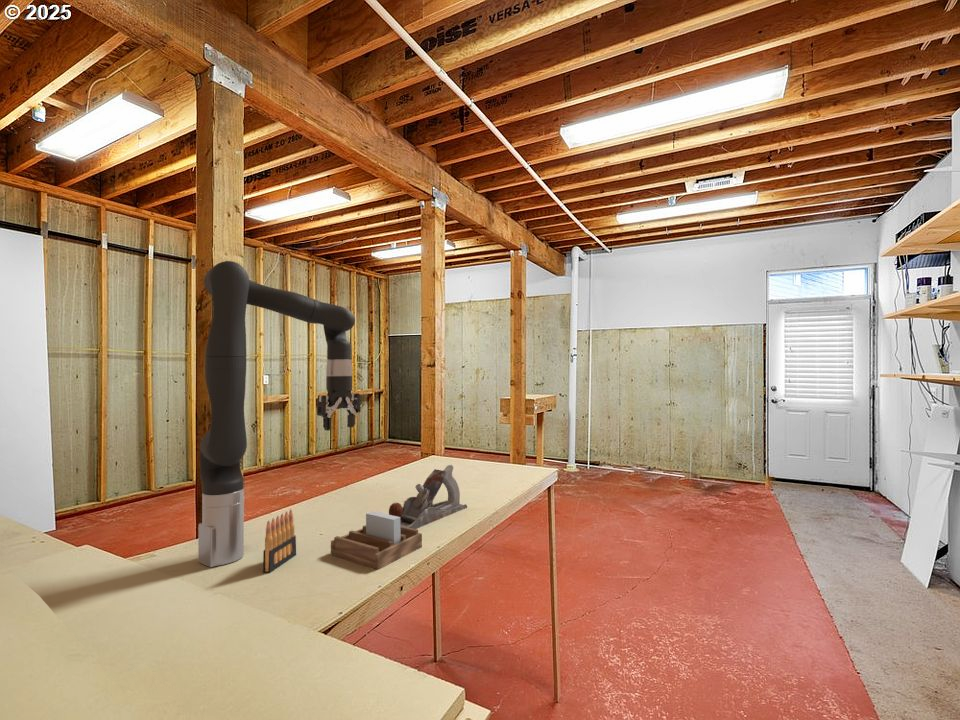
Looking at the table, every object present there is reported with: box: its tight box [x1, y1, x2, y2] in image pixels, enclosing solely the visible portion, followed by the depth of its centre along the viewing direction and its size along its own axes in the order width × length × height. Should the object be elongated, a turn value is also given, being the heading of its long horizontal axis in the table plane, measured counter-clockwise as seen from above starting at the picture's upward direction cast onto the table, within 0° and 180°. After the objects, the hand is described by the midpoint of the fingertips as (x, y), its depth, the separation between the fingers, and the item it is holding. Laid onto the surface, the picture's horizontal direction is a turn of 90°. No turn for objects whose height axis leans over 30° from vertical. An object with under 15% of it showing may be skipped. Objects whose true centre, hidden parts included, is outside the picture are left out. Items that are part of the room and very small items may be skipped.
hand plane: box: [388, 464, 468, 530], centre depth 145 cm, size 9×33×15 cm, turn 144°
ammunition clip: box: [262, 508, 297, 574], centre depth 112 cm, size 11×2×12 cm, turn 169°
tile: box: [365, 510, 401, 545], centre depth 118 cm, size 2×10×8 cm, turn 57°
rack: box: [330, 524, 423, 570], centre depth 119 cm, size 16×17×4 cm
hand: (339, 428), depth 136 cm, fingers open, 8 cm apart
